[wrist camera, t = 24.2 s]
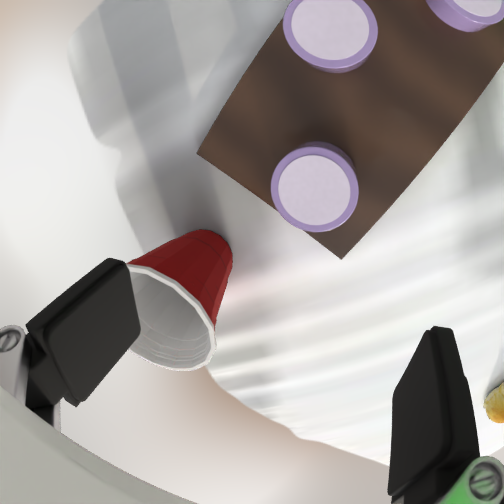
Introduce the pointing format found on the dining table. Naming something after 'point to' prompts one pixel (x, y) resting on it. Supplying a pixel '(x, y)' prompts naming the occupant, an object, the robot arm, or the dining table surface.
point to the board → (357, 108)
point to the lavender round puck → (315, 186)
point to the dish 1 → (468, 13)
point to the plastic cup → (180, 299)
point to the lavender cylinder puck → (331, 33)
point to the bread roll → (495, 404)
